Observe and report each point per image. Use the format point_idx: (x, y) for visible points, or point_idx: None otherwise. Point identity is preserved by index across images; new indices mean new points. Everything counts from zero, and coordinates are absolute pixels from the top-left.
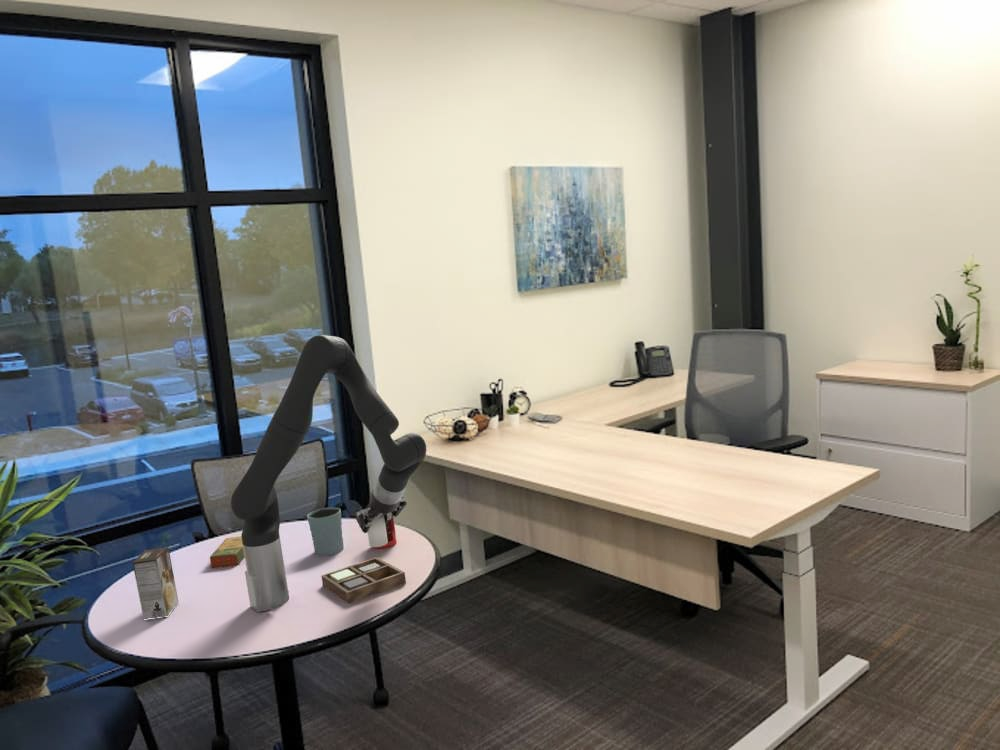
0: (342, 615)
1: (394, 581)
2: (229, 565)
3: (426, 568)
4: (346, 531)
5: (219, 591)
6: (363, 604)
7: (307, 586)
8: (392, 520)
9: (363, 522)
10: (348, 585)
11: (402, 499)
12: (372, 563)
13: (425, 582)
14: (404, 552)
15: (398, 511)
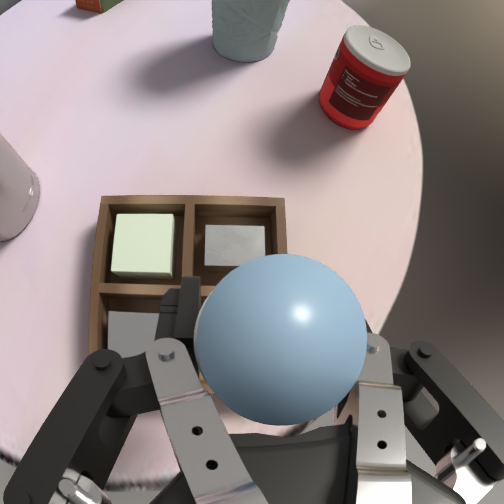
0: None
1: None
2: (93, 10)
3: (373, 319)
4: (308, 13)
5: (16, 83)
6: None
7: (96, 170)
8: (395, 88)
9: (113, 454)
10: (111, 341)
11: (494, 484)
12: (263, 210)
13: None
14: (371, 174)
15: (420, 435)
